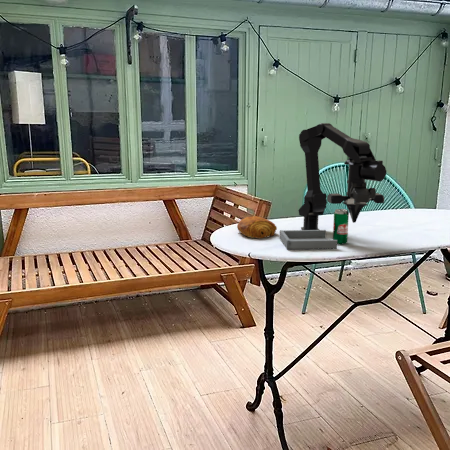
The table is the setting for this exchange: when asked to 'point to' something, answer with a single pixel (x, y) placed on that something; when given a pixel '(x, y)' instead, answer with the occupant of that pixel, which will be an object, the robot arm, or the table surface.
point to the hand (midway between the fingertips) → (353, 222)
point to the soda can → (340, 226)
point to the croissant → (256, 227)
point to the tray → (306, 240)
